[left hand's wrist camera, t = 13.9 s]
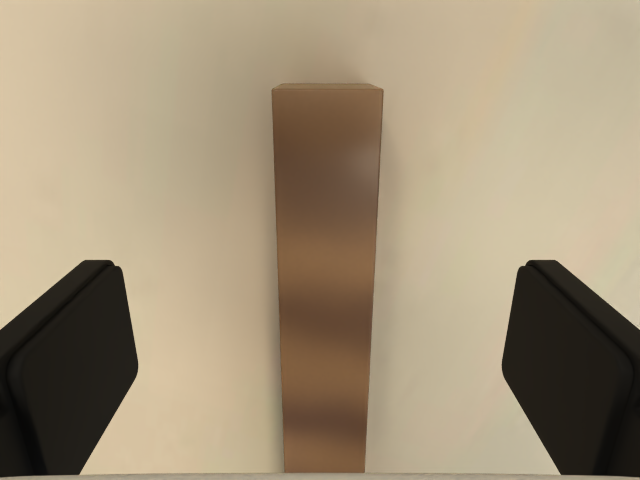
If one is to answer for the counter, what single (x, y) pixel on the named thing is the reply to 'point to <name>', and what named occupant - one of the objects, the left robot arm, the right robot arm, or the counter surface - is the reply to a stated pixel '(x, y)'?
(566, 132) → the counter surface
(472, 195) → the counter surface
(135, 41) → the counter surface
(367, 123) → the post
